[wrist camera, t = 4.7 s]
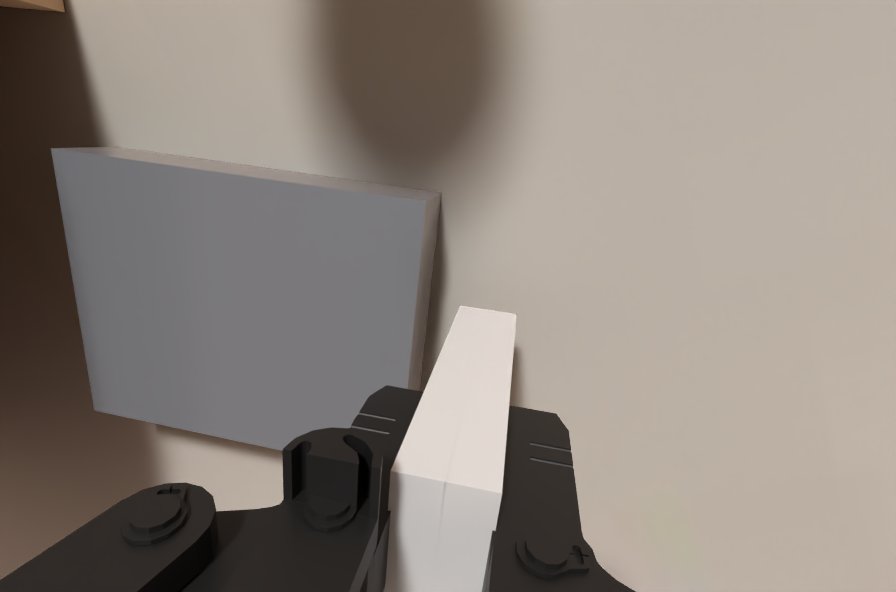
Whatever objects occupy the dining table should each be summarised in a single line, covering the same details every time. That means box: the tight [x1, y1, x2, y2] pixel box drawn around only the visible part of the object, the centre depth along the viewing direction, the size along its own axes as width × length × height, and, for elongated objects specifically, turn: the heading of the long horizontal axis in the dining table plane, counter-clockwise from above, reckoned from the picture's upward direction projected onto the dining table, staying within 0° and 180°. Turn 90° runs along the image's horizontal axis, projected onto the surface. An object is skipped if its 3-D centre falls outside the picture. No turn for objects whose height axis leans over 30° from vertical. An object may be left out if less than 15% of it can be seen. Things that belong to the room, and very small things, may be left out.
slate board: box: [51, 147, 441, 451], centre depth 14 cm, size 10×8×2 cm
